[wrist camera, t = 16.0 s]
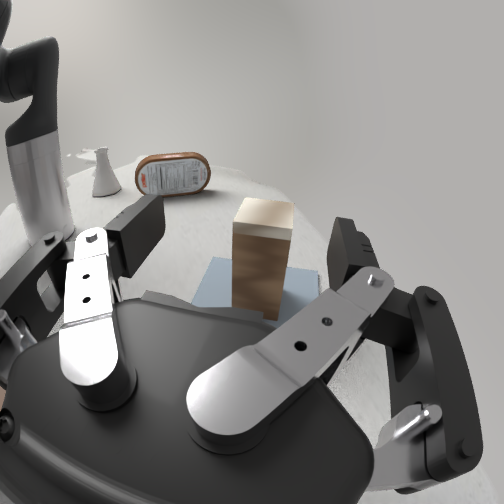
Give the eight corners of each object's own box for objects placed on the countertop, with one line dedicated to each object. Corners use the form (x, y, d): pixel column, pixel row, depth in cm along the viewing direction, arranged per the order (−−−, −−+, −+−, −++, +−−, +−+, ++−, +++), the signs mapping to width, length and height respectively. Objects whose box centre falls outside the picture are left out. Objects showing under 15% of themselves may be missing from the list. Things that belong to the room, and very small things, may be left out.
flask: (124, 184, 57) (120, 143, 52) (118, 195, 51) (112, 149, 46) (96, 188, 55) (91, 147, 50) (88, 199, 50) (80, 155, 44)
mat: (176, 338, 23) (176, 335, 23) (213, 259, 34) (213, 256, 34) (319, 361, 22) (320, 358, 22) (316, 273, 33) (317, 270, 33)
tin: (209, 188, 55) (209, 149, 51) (212, 194, 53) (212, 152, 48) (137, 196, 51) (133, 156, 46) (136, 202, 48) (131, 160, 44)
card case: (231, 314, 26) (232, 221, 21) (241, 282, 30) (245, 197, 25) (277, 321, 26) (292, 229, 20) (281, 288, 30) (294, 203, 24)
